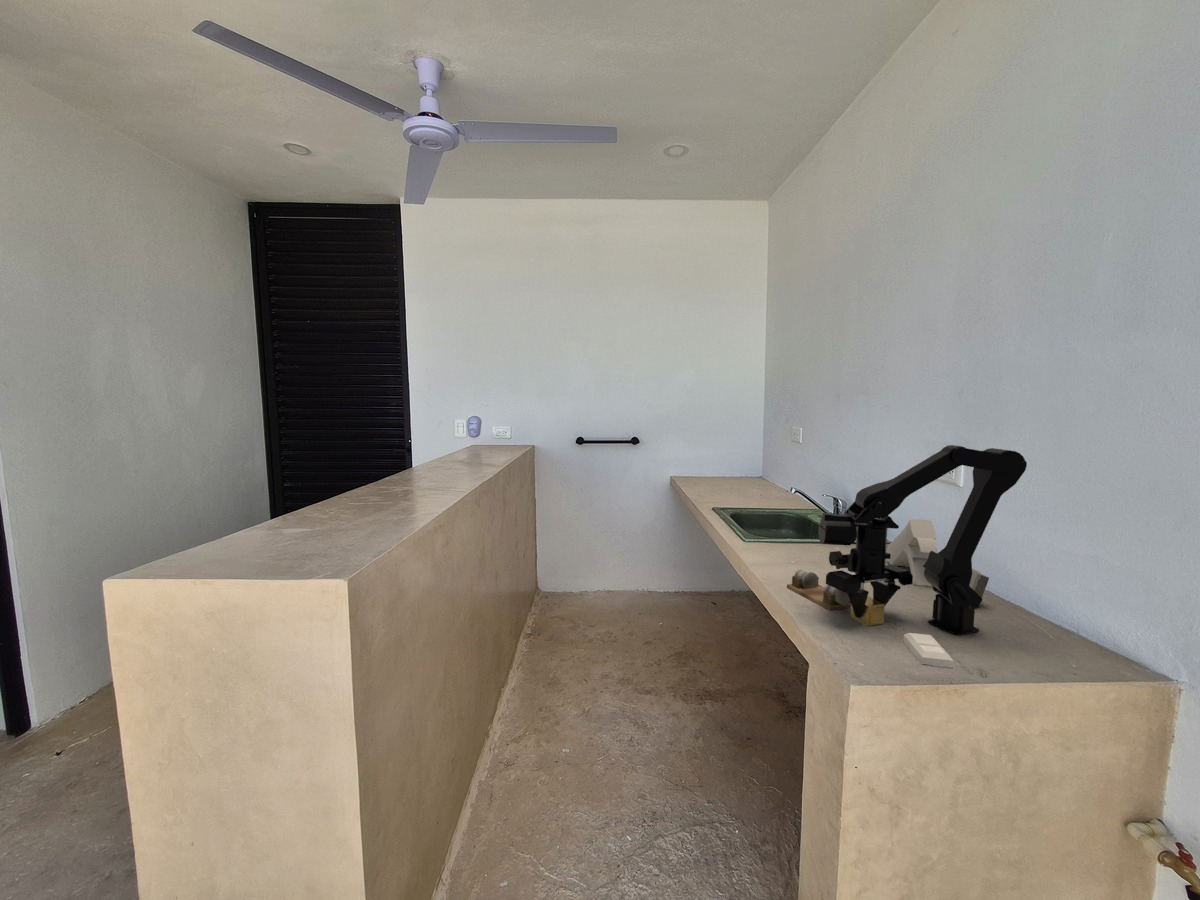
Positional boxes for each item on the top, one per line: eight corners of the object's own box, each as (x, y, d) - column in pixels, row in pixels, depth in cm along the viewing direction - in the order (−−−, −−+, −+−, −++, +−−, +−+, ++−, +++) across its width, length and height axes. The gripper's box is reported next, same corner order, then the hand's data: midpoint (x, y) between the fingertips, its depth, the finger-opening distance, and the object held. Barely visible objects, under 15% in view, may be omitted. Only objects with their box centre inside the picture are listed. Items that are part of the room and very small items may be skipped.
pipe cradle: (857, 606, 114) (858, 586, 113) (829, 610, 111) (830, 589, 111) (812, 584, 128) (812, 566, 128) (786, 587, 126) (787, 569, 125)
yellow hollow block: (885, 624, 105) (886, 604, 104) (868, 627, 103) (869, 606, 103) (865, 614, 110) (866, 595, 109) (849, 617, 108) (850, 597, 108)
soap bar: (931, 646, 96) (932, 633, 95) (952, 670, 87) (953, 656, 87) (903, 643, 97) (904, 630, 97) (921, 666, 88) (922, 652, 88)
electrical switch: (936, 594, 122) (942, 558, 121) (956, 596, 122) (963, 560, 121) (964, 609, 113) (971, 571, 112) (986, 612, 113) (993, 573, 112)
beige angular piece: (908, 547, 146) (934, 518, 130) (920, 601, 137) (949, 576, 121) (885, 546, 147) (908, 516, 131) (895, 599, 138) (921, 574, 122)
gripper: (873, 534, 115) (870, 597, 117) (809, 540, 110) (806, 606, 111) (916, 547, 105) (912, 616, 106) (847, 554, 99) (843, 627, 101)
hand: (867, 615), depth 106 cm, fingers open, 5 cm apart
